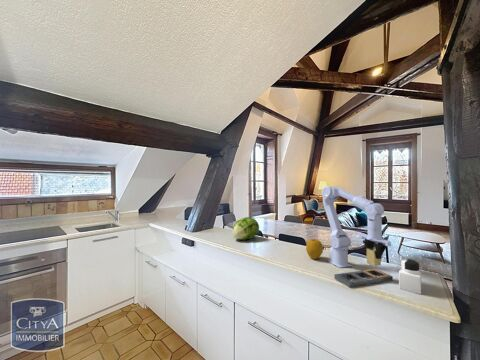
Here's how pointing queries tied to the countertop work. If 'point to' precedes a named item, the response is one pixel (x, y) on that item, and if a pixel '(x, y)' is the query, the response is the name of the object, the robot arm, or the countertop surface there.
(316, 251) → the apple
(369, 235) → the robot arm
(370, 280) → the grey rectangular frame
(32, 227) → the countertop surface
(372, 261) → the tan rectangular block
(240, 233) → the lettuce
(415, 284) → the medicine bottle
